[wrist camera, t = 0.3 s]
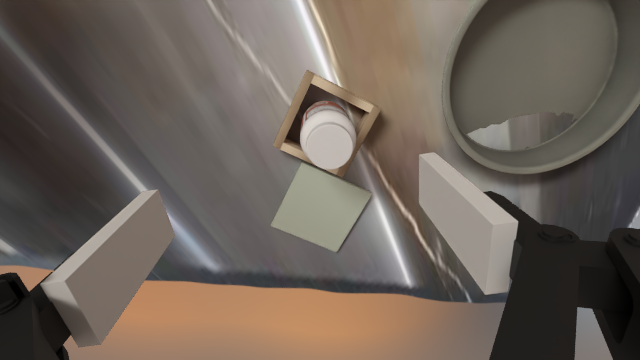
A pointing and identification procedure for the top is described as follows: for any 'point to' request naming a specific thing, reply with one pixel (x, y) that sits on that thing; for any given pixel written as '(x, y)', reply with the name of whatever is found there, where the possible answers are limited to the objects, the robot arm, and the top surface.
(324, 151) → the pill bottle
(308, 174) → the coaster
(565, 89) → the cake pan
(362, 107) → the pocket frame
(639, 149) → the top surface
